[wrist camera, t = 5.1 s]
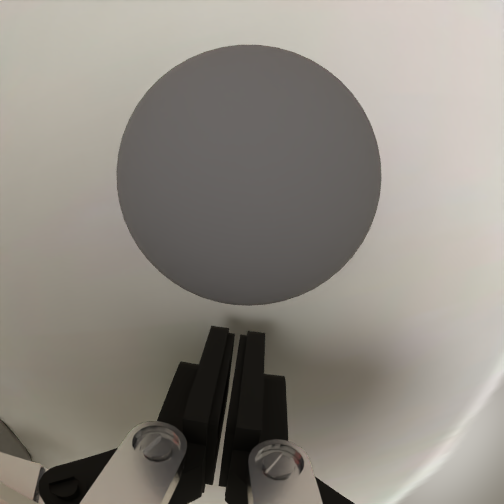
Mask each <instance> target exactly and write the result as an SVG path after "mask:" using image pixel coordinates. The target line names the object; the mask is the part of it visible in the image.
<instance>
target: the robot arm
mask: <svg viewBox="0 0 504 504" xmlns="http://www.w3.org/2000/svg"><path fill="white" fill-rule="evenodd" d="M234 338H235V334H232V333H229V328H223V327H216V326H211V329H210V332H209V335H208V338H207V341H206V344H205V348H204V351H203V354H202V357H201V360H200V364H199V365H198V364H192V363H187V362H180V364H179V366H178V368H177V371H176V373H175V376H174V378H173V381H172V383H171V386H170V388H169V391H168V394H167V396H166V399H165V401H164V404H163V406H162V409H161V412H160V414H159V417H158V419H157V421H149V422H145V423H141V424H139V425H137V426H135V427H134V428H133V429H132V430H131V431H130V432H129V433H128V434H127V436H126V437H125V439H124V440H123V442H122V443H121V444H120V446H119V447H118V448H116V449H113V450H110V451H107V452H104V453H101V454H98V455H94V456H91V457H88V458H84V459H81V460H78V461H74V462H70V463H67V464H63V465H59V466H56V467H53V468H51V469H48V468H44V467H43V466H42V464H39V463H36V462H32V461H28V460H25V459H21V458H18V457H15V456H11V455H8V454H5V453H2V452H0V504H189V503H190V502H192V501H194V500H196V499H198V498H200V497H201V495H202V493H204V489H205V484H209V485H213V480H214V474H215V468H216V462H217V456H218V450H219V444H220V438H221V432H222V426H223V420H224V414H225V408H226V402H227V395H228V387H229V379H230V371H231V362H232V354H233V346H234ZM264 354H265V333H259V332H251V331H248V333H247V335H240V340H239V347H238V353H237V360H236V366H235V373H234V379H233V386H232V392H231V398H230V405H229V411H228V418H227V425H226V432H225V440H224V448H223V455H222V463H221V471H220V479H219V486H223V487H226V492H225V501H226V502H227V503H228V504H354V503H353V502H351V501H350V500H348V499H347V498H345V497H344V496H342V495H341V494H339V493H338V492H336V491H335V490H333V489H332V488H331V487H329V486H328V485H326V484H325V483H323V482H322V481H321V480H319V479H318V478H316V477H315V475H314V472H313V468H312V465H311V461H310V459H309V457H308V455H307V453H306V452H305V451H304V450H303V449H302V448H301V447H300V446H298V445H296V444H295V443H293V442H289V441H288V425H287V403H286V383H285V377H284V376H277V375H268V374H264Z"/></svg>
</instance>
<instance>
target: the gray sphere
mask: <svg viewBox="0 0 504 504" xmlns="http://www.w3.org/2000/svg"><path fill="white" fill-rule="evenodd" d="M380 187H381V162H380V155H379V150H378V145H377V141H376V138H375V135H374V132H373V129H372V126H371V124H370V122H369V120H368V118H367V116H366V114H365V112H364V110H363V108H362V107H361V105H360V104H359V102H358V101H357V100H356V98H355V97H354V95H353V94H352V93H351V92H350V91H349V90H348V88H347V87H346V86H345V85H344V84H343V83H342V82H341V81H340V80H339V79H338V78H336V77H335V76H334V75H333V74H332V73H330V72H329V71H328V70H327V69H325V68H323V67H322V66H320V65H319V64H317V63H315V62H314V61H312V60H310V59H308V58H305V57H303V56H301V55H299V54H296V53H294V52H290V51H287V50H283V49H280V48H276V47H269V46H262V45H236V46H228V47H222V48H218V49H214V50H210V51H207V52H204V53H201V54H199V55H197V56H194V57H192V58H190V59H188V60H186V61H184V62H182V63H181V64H179V65H177V66H176V67H174V68H173V69H171V70H170V71H169V72H167V73H166V74H165V75H164V76H162V77H161V78H160V79H159V80H158V81H157V82H156V83H155V84H154V85H153V86H152V87H151V88H150V89H149V90H148V91H147V92H146V94H145V95H144V97H143V98H142V99H141V101H140V102H139V103H138V105H137V106H136V108H135V110H134V112H133V114H132V115H131V117H130V119H129V121H128V124H127V126H126V129H125V131H124V134H123V137H122V141H121V145H120V149H119V154H118V163H117V190H118V196H119V202H120V206H121V210H122V213H123V217H124V220H125V222H126V224H127V227H128V229H129V231H130V234H131V235H132V237H133V239H134V241H135V242H136V244H137V246H138V247H139V249H140V250H141V251H142V253H143V254H144V255H145V256H146V258H147V259H148V260H149V261H150V262H151V263H152V264H153V265H154V266H155V267H156V268H157V269H158V270H159V271H160V272H161V273H162V274H163V275H164V276H166V277H167V278H168V279H170V280H171V281H172V282H174V283H175V284H177V285H179V286H180V287H182V288H184V289H185V290H187V291H189V292H191V293H194V294H196V295H198V296H200V297H203V298H206V299H210V300H213V301H216V302H221V303H227V304H233V305H263V304H270V303H275V302H280V301H284V300H287V299H290V298H294V297H297V296H299V295H302V294H304V293H306V292H308V291H310V290H312V289H314V288H316V287H317V286H319V285H320V284H322V283H324V282H325V281H327V280H328V279H329V278H331V277H332V276H333V275H334V274H335V273H337V272H338V271H339V270H340V269H341V268H342V267H343V266H344V265H345V264H346V263H347V262H348V261H349V260H350V259H351V258H352V256H353V255H354V254H355V252H356V251H357V249H358V248H359V247H360V245H361V244H362V242H363V240H364V238H365V237H366V235H367V233H368V231H369V229H370V227H371V224H372V221H373V219H374V216H375V213H376V210H377V205H378V201H379V196H380Z"/></svg>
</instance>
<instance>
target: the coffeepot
mask: <svg viewBox="0 0 504 504" xmlns="http://www.w3.org/2000/svg"><path fill="white" fill-rule="evenodd" d="M0 452H2V453H5V454H8V455H11V456H15V457H18V458H21V459H25V460H28V461H31V458H30V455H29V454H28V452H27V450H26V449H25V447H24V446H23V445H22V443H21V442H20V441H19V439H18V438H17V437H16V436H15V435H14V433H13V432H12V431H11V430H10V429H9V428H8V427H7V426H6V425H5V424H4V423H3V422H2V421H1V420H0Z"/></svg>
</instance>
